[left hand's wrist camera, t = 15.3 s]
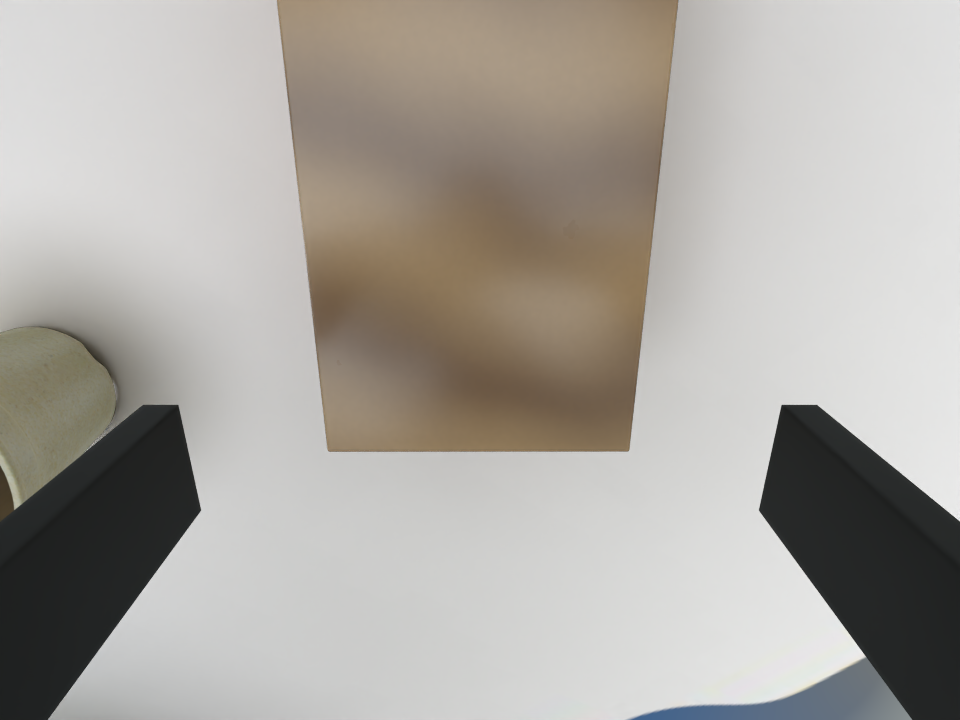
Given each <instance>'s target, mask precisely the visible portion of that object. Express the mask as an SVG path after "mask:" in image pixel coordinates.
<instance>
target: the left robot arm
mask: <svg viewBox="0 0 960 720" xmlns="http://www.w3.org/2000/svg"><path fill="white" fill-rule="evenodd" d="M200 511H201V508H200V503H199V499H198V494H197V489H196V485H195V480H194V475H193V471H192V466H191V462H190V457H189V452H188V448H187V443H186V438H185V434H184V429H183V425H182V420H181V415H180V411H179V406H178V405H142V406H141V407H140V408H139V409H138V410H136V411H135V412H134V413H133V414H131V415H130V416H129V417H128V418H127V419H125V420H124V421H123V422H122V423H120V424H119V425H118V426H117V427H115V428H114V429H113V430H112V431H111V432H109V433H108V434H107V435H106V436H104V437H103V438H102V439H101V440H100V441H98V442H97V443H96V444H95V445H93V446H92V447H91V448H90V449H89V450H87V451H86V452H85V453H84V454H82V455H81V456H80V457H79V458H78V459H76V460H75V461H74V462H73V463H71V464H70V465H69V466H68V467H66V468H65V469H64V470H63V471H62V472H60V473H59V474H58V475H57V476H55V477H54V478H53V479H52V480H51V481H49V482H48V483H47V484H46V485H44V486H43V487H42V488H41V489H40V490H38V491H37V492H36V493H35V494H33V495H32V496H31V497H30V498H29V499H27V500H26V501H25V502H24V503H22V504H21V505H20V506H19V507H17V508H16V509H15V510H14V511H13V512H11V513H10V514H9V515H8V516H6V517H5V518H4V519H3V520H2V521H0V720H48V718H49V717H50V716H51V714H52V713H53V712H54V710H55V709H56V708H57V706H58V705H59V703H60V702H61V701H62V699H63V698H64V697H65V695H66V694H67V693H68V691H69V690H70V688H71V687H72V686H73V684H74V683H75V682H76V680H77V679H78V678H79V676H80V675H81V673H82V672H83V671H84V669H85V668H86V667H87V665H88V664H89V663H90V661H91V660H92V658H93V657H94V656H95V654H96V653H97V652H98V650H99V649H100V648H101V646H102V645H103V643H104V642H105V641H106V639H107V638H108V637H109V635H110V634H111V633H112V631H113V630H114V628H115V627H116V626H117V624H118V623H119V622H120V620H121V619H122V618H123V616H124V615H125V613H126V612H127V611H128V609H129V608H130V607H131V605H132V604H133V603H134V601H135V600H136V598H137V597H138V596H139V594H140V593H141V592H142V590H143V589H144V588H145V586H146V585H147V583H148V582H149V581H150V579H151V578H152V577H153V575H154V574H155V573H156V571H157V570H158V568H159V567H160V566H161V564H162V563H163V562H164V560H165V559H166V558H167V556H168V555H169V553H170V552H171V551H172V549H173V548H174V547H175V545H176V544H177V543H178V541H179V540H180V538H181V537H182V536H183V534H184V533H185V532H186V530H187V529H188V528H189V526H190V525H191V523H192V522H193V521H194V519H195V518H196V517H197V515H198V514H199V513H200ZM759 511H760V513H761V514H762V515H763V517H764V518H765V519H766V521H767V522H768V523H769V525H770V526H771V528H772V529H773V530H774V532H775V533H776V534H777V536H778V537H779V538H780V540H781V541H782V543H783V544H784V545H785V547H786V548H787V549H788V551H789V552H790V553H791V555H792V556H793V558H794V559H795V560H796V562H797V563H798V564H799V566H800V567H801V568H802V570H803V571H804V573H805V574H806V575H807V577H808V578H809V579H810V581H811V582H812V583H813V585H814V586H815V588H816V589H817V590H818V592H819V593H820V594H821V596H822V597H823V598H824V600H825V601H826V603H827V604H828V605H829V607H830V608H831V609H832V611H833V612H834V613H835V615H836V616H837V618H838V619H839V620H840V622H841V623H842V624H843V626H844V627H845V628H846V630H847V631H848V633H849V634H850V635H851V637H852V638H853V639H854V641H855V642H856V643H857V645H858V646H859V648H860V649H861V650H862V652H863V653H864V654H865V656H866V657H867V658H868V660H869V661H870V663H871V664H872V665H873V667H874V668H875V669H876V671H877V672H878V673H879V675H880V676H881V677H882V679H883V680H884V682H885V683H886V684H887V686H888V687H889V688H890V690H891V691H892V692H893V694H894V695H895V697H896V698H897V699H898V701H899V702H900V703H901V705H902V706H903V708H904V709H905V710H906V712H907V713H908V714H909V716H910V717H911V718H912V720H960V521H958V520H957V519H956V518H955V517H954V516H952V515H951V514H950V513H949V512H947V511H946V510H945V509H944V508H943V507H941V506H940V505H939V504H938V503H936V502H935V501H934V500H933V499H931V498H930V497H929V496H928V495H927V494H925V493H924V492H923V491H922V490H920V489H919V488H918V487H917V486H916V485H914V484H913V483H912V482H911V481H909V480H908V479H907V478H906V477H905V476H903V475H902V474H901V473H900V472H898V471H897V470H896V469H895V468H894V467H892V466H891V465H890V464H889V463H887V462H886V461H885V460H884V459H882V458H881V457H880V456H879V455H878V454H876V453H875V452H874V451H873V450H871V449H870V448H869V447H868V446H867V445H865V444H864V443H863V442H862V441H860V440H859V439H858V438H857V437H856V436H854V435H853V434H852V433H851V432H849V431H848V430H847V429H846V428H845V427H843V426H842V425H841V424H840V423H838V422H837V421H836V420H835V419H833V418H832V417H831V416H830V415H829V414H827V413H826V412H825V411H824V410H822V409H821V408H820V407H819V406H818V405H782V406H781V411H780V415H779V420H778V425H777V429H776V434H775V438H774V443H773V448H772V452H771V457H770V462H769V466H768V471H767V475H766V480H765V485H764V489H763V494H762V499H761V503H760V508H759Z"/></svg>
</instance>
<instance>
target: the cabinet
mask: <svg viewBox="0 0 960 720" xmlns="http://www.w3.org/2000/svg"><path fill="white" fill-rule="evenodd" d="M277 6H278V15H279V24H280V33H281V42H282V50H283V59H284V68H285V77H286V86H287V95H288V104H289V112H290V121H291V130H292V139H293V148H294V157H295V166H296V174H297V183H298V192H299V201H300V210H301V219H302V227H303V236H304V245H305V254H306V263H307V272H308V281H309V289H310V298H311V307H312V316H313V325H314V334H315V343H316V351H317V360H318V369H319V378H320V387H321V396H322V404H323V413H324V422H325V431H326V440H327V449H328V451H329V452H462V451H629V448H630V439H631V430H632V421H633V411H634V402H635V393H636V384H637V375H638V366H639V356H640V347H641V338H642V329H643V320H644V311H645V302H646V292H647V283H648V274H649V265H650V256H651V247H652V237H653V228H654V219H655V210H656V201H657V192H658V182H659V173H660V164H661V155H662V146H663V137H664V127H665V118H666V109H667V100H668V91H669V82H670V73H671V63H672V54H673V45H674V36H675V27H676V18H677V8H678V0H277Z"/></svg>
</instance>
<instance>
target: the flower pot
mask: <svg viewBox="0 0 960 720" xmlns="http://www.w3.org/2000/svg"><path fill="white" fill-rule="evenodd" d="M115 407H116V395H115V390H114V385H113V382H112V379H111V377H110V375H109V373H108V371H107V369H106V368H105V367H104V366H103V365H102V364H100V363H99V362H98V361H96V360H95V359H94V358H93V356H92V355H91V354H90V353H89V352H88V351H87V349H86V348H85V347H84V345H83V344H82V343H81V342H79V341H78V340H76V339H74V338H72V337H70V336H68V335H66V334H64V333H61V332H58V331H55V330H51V329H47V328H42V327H21V328H15V329H11V330H8V331H5V332H1V333H0V521H2V520H3V519H4V518H5V517H6V516H8V515H9V514H10V513H11V512H13V511H14V510H15V509H16V508H17V507H19V506H20V505H21V504H22V503H24V502H25V501H26V500H27V499H29V498H30V497H31V496H32V495H33V494H35V493H36V492H37V491H38V490H40V489H41V488H42V487H43V486H44V485H46V484H47V483H48V482H49V481H51V480H52V479H53V478H54V477H55V476H57V475H58V474H59V473H60V472H62V471H63V470H64V469H65V468H66V467H68V466H69V465H70V464H71V463H73V462H74V461H75V460H76V459H78V458H79V457H80V456H81V455H82V454H83V453H84V452H85V451H86V450H87V449H88V448H89V447H90V445H91V444H92V443H93V442H94V441H95V440H96V439H97V438H98V437H99V436H100V435H101V434H102V433H103V432H104V430H105V429H106V428H107V427H108V426H109V424H110V422H111V420H112V418H113V415H114V411H115Z"/></svg>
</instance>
